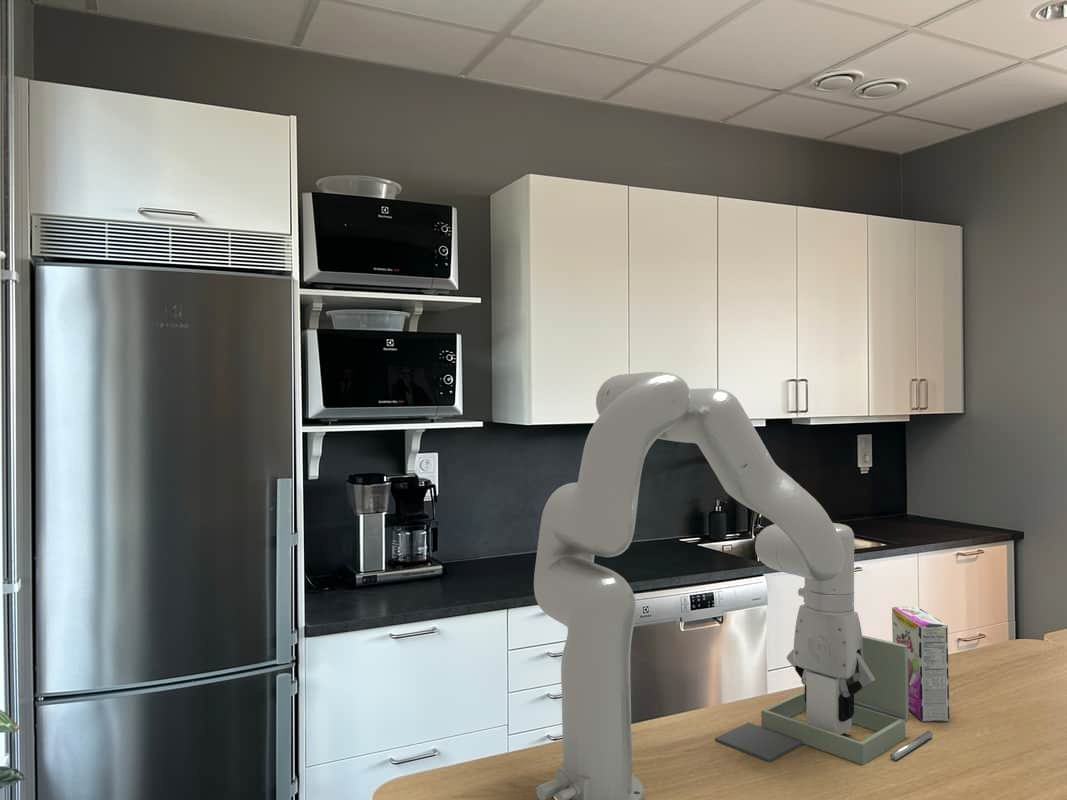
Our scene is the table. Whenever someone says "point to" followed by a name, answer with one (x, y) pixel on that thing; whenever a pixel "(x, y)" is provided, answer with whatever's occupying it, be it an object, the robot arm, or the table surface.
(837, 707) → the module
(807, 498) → the robot arm
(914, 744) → the rod
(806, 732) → the case
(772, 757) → the mat
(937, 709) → the candy bar box
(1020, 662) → the table surface
